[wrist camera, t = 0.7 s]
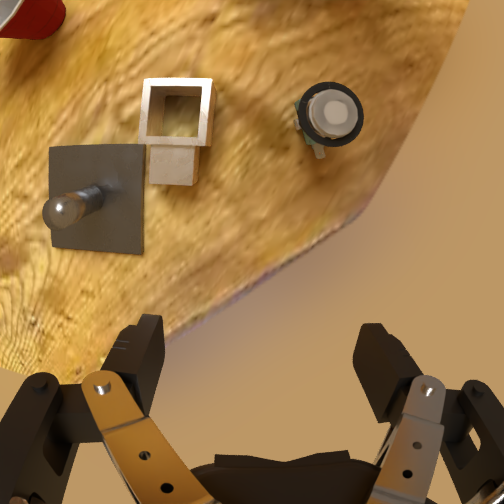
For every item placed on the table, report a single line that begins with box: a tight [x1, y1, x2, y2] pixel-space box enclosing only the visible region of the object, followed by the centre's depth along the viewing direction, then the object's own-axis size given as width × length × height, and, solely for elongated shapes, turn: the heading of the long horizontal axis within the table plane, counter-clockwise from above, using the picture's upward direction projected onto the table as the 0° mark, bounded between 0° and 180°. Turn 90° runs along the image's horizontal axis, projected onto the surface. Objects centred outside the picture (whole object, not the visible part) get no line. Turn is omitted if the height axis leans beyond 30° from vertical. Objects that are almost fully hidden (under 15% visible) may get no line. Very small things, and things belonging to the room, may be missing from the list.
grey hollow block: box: [138, 78, 216, 186], centre depth 28 cm, size 10×6×6 cm, turn 175°
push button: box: [294, 82, 364, 159], centre depth 27 cm, size 7×5×10 cm
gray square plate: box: [42, 144, 146, 255], centre depth 28 cm, size 12×12×9 cm
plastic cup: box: [0, 0, 66, 40], centre depth 19 cm, size 11×11×12 cm
